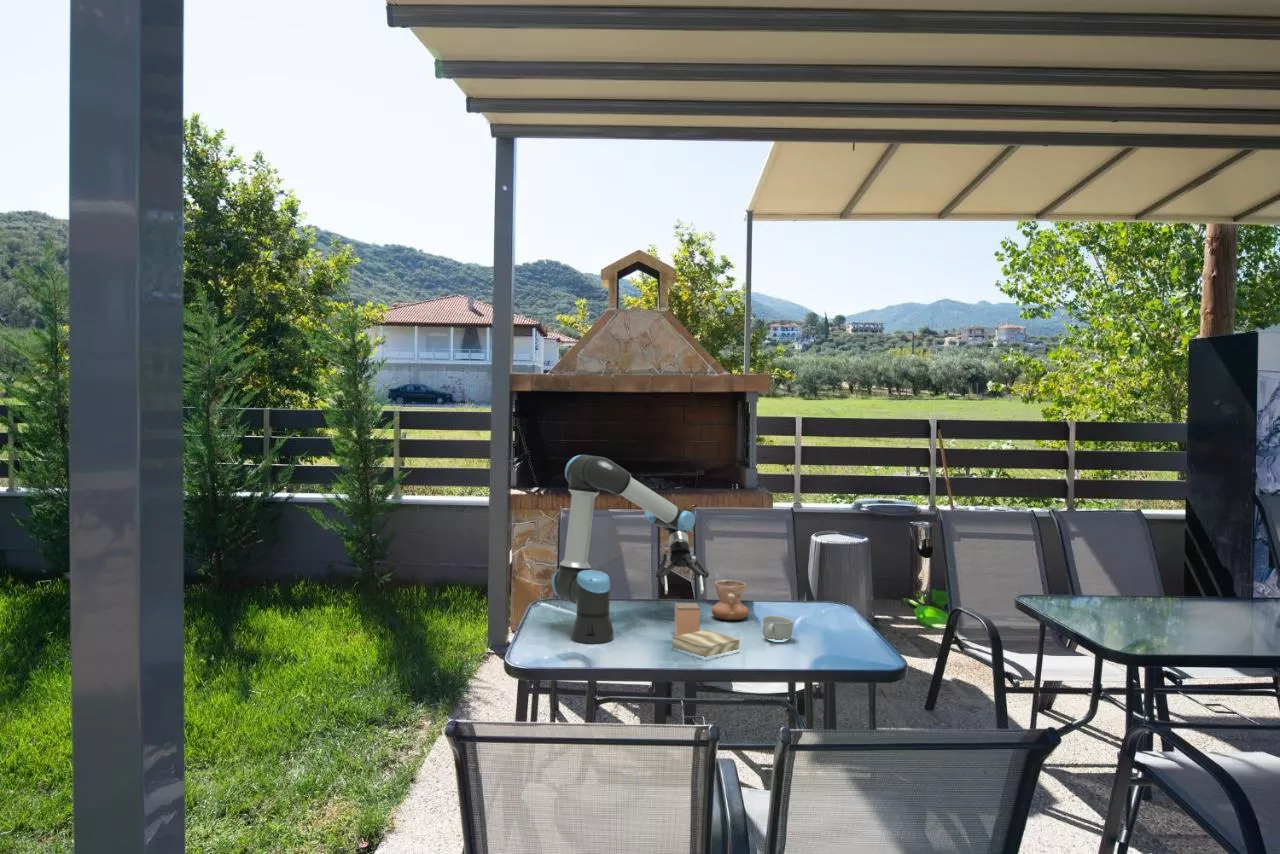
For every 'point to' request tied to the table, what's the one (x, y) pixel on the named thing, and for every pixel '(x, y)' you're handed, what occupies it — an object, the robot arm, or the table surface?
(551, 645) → the table surface
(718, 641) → the birch box
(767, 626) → the teacup
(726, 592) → the ceramic jug
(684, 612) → the pink square box
